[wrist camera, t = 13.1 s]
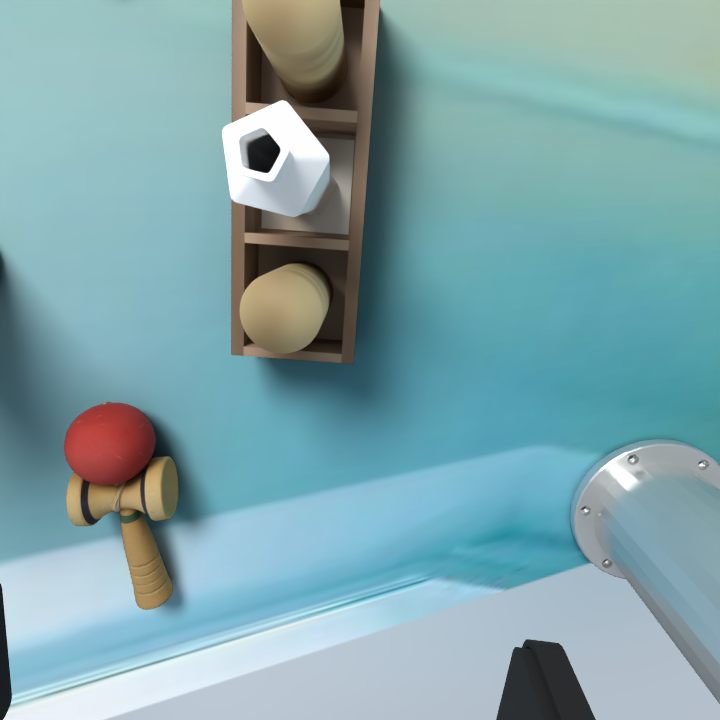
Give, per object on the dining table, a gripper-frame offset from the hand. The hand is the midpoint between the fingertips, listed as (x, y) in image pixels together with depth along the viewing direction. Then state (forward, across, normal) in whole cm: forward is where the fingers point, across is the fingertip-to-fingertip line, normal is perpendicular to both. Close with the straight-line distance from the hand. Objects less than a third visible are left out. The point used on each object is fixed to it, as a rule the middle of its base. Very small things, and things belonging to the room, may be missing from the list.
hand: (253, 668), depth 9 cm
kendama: (+28, +16, +15) cm, 36 cm away
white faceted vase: (+27, +4, -10) cm, 29 cm away
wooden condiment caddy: (+28, +4, -11) cm, 30 cm away
